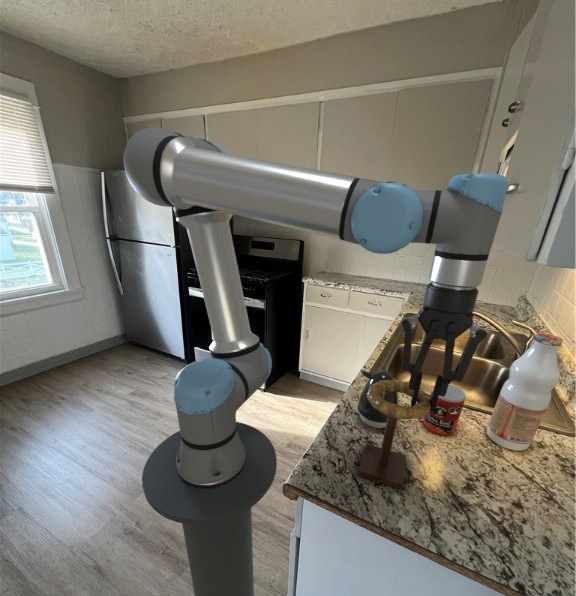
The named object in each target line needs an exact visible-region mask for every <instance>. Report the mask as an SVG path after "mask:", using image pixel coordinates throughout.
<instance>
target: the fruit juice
mask: <svg viewBox="0 0 576 596" xmlns="http://www.w3.org/2000/svg"><path fill="white" fill-rule="evenodd" d="M563 341H564V340H563V338H561V337H559V336H557V335H554V334H549V333H545V332H543V333H541V332H539V333H536V334H535V335H534V337H533V339H532V344H531V346H529V348H528V349H526V351H525V352H524V353H523V354H522V355H521V356H520V357H518V358H517V359H515V360H514V361H513V362H512V363H511V365H510V367H509V376H508V378H507V380H505V382H504V383H503V385H502V387H501V389H500V392H499V395H498V397H497V400H496V403H495V405H494V408H493V410H492V414H491V416H490V419H489V421H488V424H487V427H486V434H487V437H488V438H489V439H490V440H491V441H492V442H494V443H495V444H496V445H498V446H500V447H502V448H505V449H507V450H511V451H517V452H518V451H525V450H527V449H528V448H529V447H530V446H531V444H532V442H533V440H534V437H535V436H536V433H537V431H538V429H539V427H540V424H541V423H542V421H543V418H544V416H545V414H546V412H547V410H548V408H549V405H550V404H551V400H552V390H553V389H554V388H555V387H556V386H557V385H558V383H559V382H560V380H561V371H560V368H559V365H558V364H559V363H558V349H560V348H561V346H562V345H563V343H564V342H563Z"/></svg>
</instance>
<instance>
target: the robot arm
mask: <svg viewBox="0 0 576 596" xmlns="http://www.w3.org/2000/svg"><path fill="white" fill-rule="evenodd" d="M123 167H124V171H125V175H126V178H127V180H128V182H129V184H130V185H131V187H132V188H133V189H134V191H135V192H136V193H137V194H138V195H139V196H140V197H141V198H143V199H144V200H145V201H147V202H148V203H150V204H153V205H155V206H159V207H164V208H165V207H167V208H172V209H173V212H174V216H175V220H176V222H177V223H179V224H180V225H181V226H182V227H184V228H185V229H186V232H187V236H188V239H189V244H190V248H191V252H192V256H193V260H194V264H195V268H196V271H197V276H198V280H199V283H200V288H201V292H202V296H203V300H204V304H205V308H206V312H207V317H208V320H209V324H210V329H211V332H212V336H213V340H212V342H211V343H210V345H209V347H208V348H209V352H210V356H211V358H203V359H201V360H200V361H199V360H195V361H193V362H191V363H189V364H186V366H184V367H182V368H181V369H180V371H179V372H178V373H177V374H176V376H175V378H174V381H173V391H174V392H173V399H174V400H173V401H174V404H175V409H176V414H177V420H178V427H179V431H180V433H181V442H180V446H179V450H178V454H177V458H176V467H177V473H178V475H179V477H180V478H181V480H182V481H184V482H185V483H186V484H188V485H190V486H193V487H197V488H213V487H218V486H221V485H224V484H226V483H228V482H230V481H231V480H233V479H234V478H236V477H237V476H238V475H239V474H240V472H241V471H242V470H243V468H244V466H245V462H246V451H245V447H244V444H243V442H242V441H241V440H240V437H239V435H238V432H237V430H236V422H237V411H238V410H239V409H240V408H241V407H242V406H243V405H244V404H245V403H246V402H247V401H248V400H249V399H250V398H251V397H252V396H253V395H254V394H255V393H256V391H258V390H259V389H260V388H262V386H263V385H264V384H265V383H266V382H267V379H268V378H269V377H270V375H271V373H272V368H273V362H272V356H271V353H270V352H269V350H268V349H267V348H266V347H264V344H263V343H261V342H260V337H259V336H258V335H256V334H255V333H253V332H252V330H251V327H250V320H249V316H248V310H247V306H246V305H247V304H246V300H245V296H244V292H243V285H242V282H241V275H240V270H239V265H238V262H237V261H238V260H237V256H236V252H235V246H234V241H233V236H232V233H231V225H230V220H231V219H232V217H233V216H234V215H235V216H239V217H243V218H248V219H252V220H257V221H260V222H264V223H269V224H273V225H276V226H277V225H278V226H282V227H285V228H290V229H293V230H298V231H303V232H307V233H311V234H314V235H319V236H323V237H326V238H327V237H329V238H332V239H336V240H340V241H344V242H347V243H351V244H355V245H359V246H360V247H362V248H363V249H365V250H366V251H367V252H370V253H373V254H378V255H379V254H380V255H388V254H392V253H396V252H399V250H401V249H404V248H405V247H407V246H408V245H409V244H411V243H412V244H413V243H416V244H427V245H428V244H429V245H431V244H433V245H435V249H434V254H433V258H432V263H431V267H430V271H429V277H428V279H429V281H430V282H429V283H428V284H427V285H426V288H425V289H426V290H425V294H424V299H423V304H422V307H421V309H420V310H419V311H418V313H417V314H415V315H412V316H408V315H405V316H404V317H402V320H401V321H402V322H401V325H402V328H403V331H404V339H403V340H404V341H403V352H402V363H401V364H402V366H401V370H402V371H403V372H408V373H409V374H410V376H409V381H408V383H409V389H410V390H414V391H413V395H412V397H411V400H410V406H412V405H415V404H417V397H418V393H419V389H420V388H421V384H422V381H423V371H421V370H422V368H423V366H424V363H425V360H426V358H427V356H428V353H429V351H430V348H431V346H432V344H433V342H434V340H441V341H445V343H444V353H443V365H442V372H441V373H442V374H437V375H436V379H435V382H434V385H433V386H434V390H433V394H432V398H431V410H430V412H434V411H435V408H436V404H437V400H438V397H439V396H443V397H444V396H445V395H446V392H447V389H448V385H451V382H455V381H456V382H461V381H463V380H464V377H465V375H466V373H467V371H468V369H469V367H470V364H471V362H472V360H473V357H474V355H475V353H476V351H477V348H478V346H479V344H481V343H482V341H483V340H485V338H486V337H487V336H488V332H487V330H486V328H485V327H484V326H482V325H481V326H480V325H478V324H476V323H474V319H473V313H474V310H475V305H476V303H477V299H478V295H479V289H478V288H477V287H479V286H481V284H482V281H483V278H484V275H485V271H486V268H487V264H488V260H489V256H490V252H491V250H492V247H493V243H494V240H495V237H496V233H497V231H498V227H499V224H500V220H501V217H502V214H503V213H504V210H503V208H504V206H505V200H506V195H507V192H508V188H509V180H508V178H507V177H506V176H505V175H504V174H500V173H489V172H488V173H487V172H486V173H485V172H482V173H480V172H479V173H478V172H477V173H461V174H456V175H453V176H452V177H451V178H450V179H449V180H450V181H449V184H448V186H447V188H446V189H437V190H427V189H426V190H425V189H413V188H411V187H410V186H409V185H408V184H405V183H401V182H396V181H379V180H374V179H368V178H360V177H357V176H351V175H347V174H342V173H336V172H330V171H325V170H320V169H314V168H308V167H304V166H297V165H292V164H287V163H281V162H275V161H270V160H263V159H260V158H259V159H258V158H253V157H248V156H244V155H243V156H242V155H237V154H232V153H227V151H225V150H224V149H223V148H222V147H220V146H219V145H217V144H215V143H213V142H212V141H210V140H207V139H205V138H200V137H198V138H197V137H193V136H190V135H186V134H183V133H180V132H176V131H173V130H170V129H167V128H162V127H146V128H142V129H140V130H138V131H137V132H135V133H133V135H132V136H131V137H130V138H129V140H128V141H127V144H126V146H125V148H124V152H123ZM418 323H419V324H420V326H421V327H422V330H423V332H424V337H423V339H422V341H421V344H420V347H419V349H418V352H417V355H416V357H415V360H414V362H413V363H412V362H411V355H412V343H413V333H414V332H413V331H414V329H416V328H417V324H418ZM466 331H468V336H469V337H468V338H467V340H466V343H465V345H464V348H463V351H461V355H460V357H459V359H458V361H457V364H456V366H455V369H454V370H452V369H453V360H454V351H455V346H456V339H458V338H459V337H460V336H461V335H462V334H464V333H466Z"/></svg>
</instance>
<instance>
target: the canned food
mask: <svg viewBox="0 0 576 596" xmlns="http://www.w3.org/2000/svg"><path fill="white" fill-rule="evenodd" d="M434 386H435V385H433V387H432V389H431V391H430V396H429V397H430V399H431V398H432V394H433V390H434ZM466 396H467V394H466V392H465V391H464V390H463V389H461V388H460V387H458V386H456V385H452V384H449V385H448V389H447V392H446V395H445V396H444V397H443V396H439V397H438V400H437V404H436V408H435V411H434V412H430V411H429V412H428V413H427V414H425V415H424V419H423V424H424V427H425V428H426V429H427V430H428V431H430V432H431V433H434V434H435V435H439V436H450V435H452V434H453V433H454V432H455V431H456V428H457V426H458V422H459V419H460V416H461V413H462V411H463V407H464V404H465V401H466Z"/></svg>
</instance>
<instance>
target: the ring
mask: <svg viewBox="0 0 576 596" xmlns="http://www.w3.org/2000/svg"><path fill="white" fill-rule="evenodd" d="M390 391H395V392H398V394H399V393H400V394H404V395H407V396H408V397H410V398H412V395H413V391H414V390H410V389H409V381H408V382H407V381H402V380H397V379H394V380H382V381H379V382H377V383H375V384H372V385H371V386H370V387H369V390H368V393H367V398H368V400H369V402H370V403H371V405H372V406H373V407H374V408H375V409H376V410H378V411H380V412H382V413H383V414H385V415H387V416H391V417H395V418H398V420H414V419H415V420H417V419H421V418H422V417H425V414H427V413H428V412H429V411H430V410H431V399H430V396H429V395H428V394H427V393H426V392H425V391H424V390H423V388H421V387H420V389H419V393H418V397H417V401H416V404H415V405H412V406H411V405H400V404H398V405H397V404H392V403H390V402H388V401H386V400H384V399H383V398H382V397H381V396H380V394H381V393H383V392H390Z"/></svg>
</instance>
